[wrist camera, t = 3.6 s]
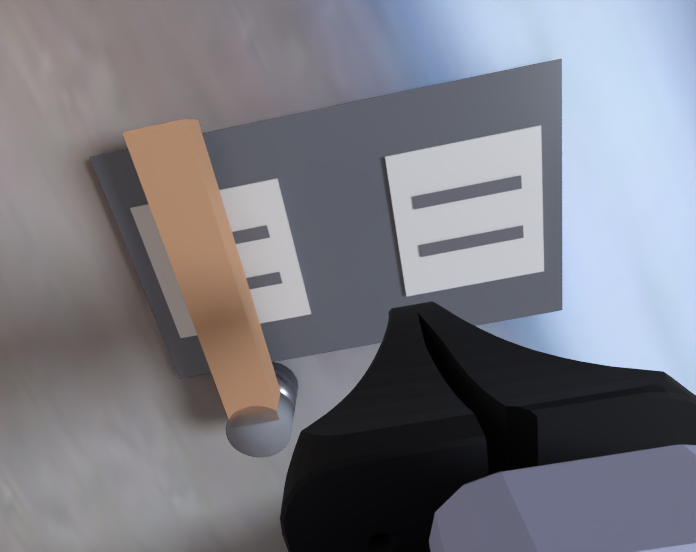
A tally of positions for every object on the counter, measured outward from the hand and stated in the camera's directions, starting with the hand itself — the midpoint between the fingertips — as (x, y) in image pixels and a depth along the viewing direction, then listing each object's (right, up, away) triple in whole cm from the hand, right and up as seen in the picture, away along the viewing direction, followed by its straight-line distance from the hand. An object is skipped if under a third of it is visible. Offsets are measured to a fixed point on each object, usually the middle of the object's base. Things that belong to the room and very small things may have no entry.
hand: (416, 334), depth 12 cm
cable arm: (-8, 0, +7) cm, 11 cm away
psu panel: (-2, +4, +9) cm, 10 cm away
